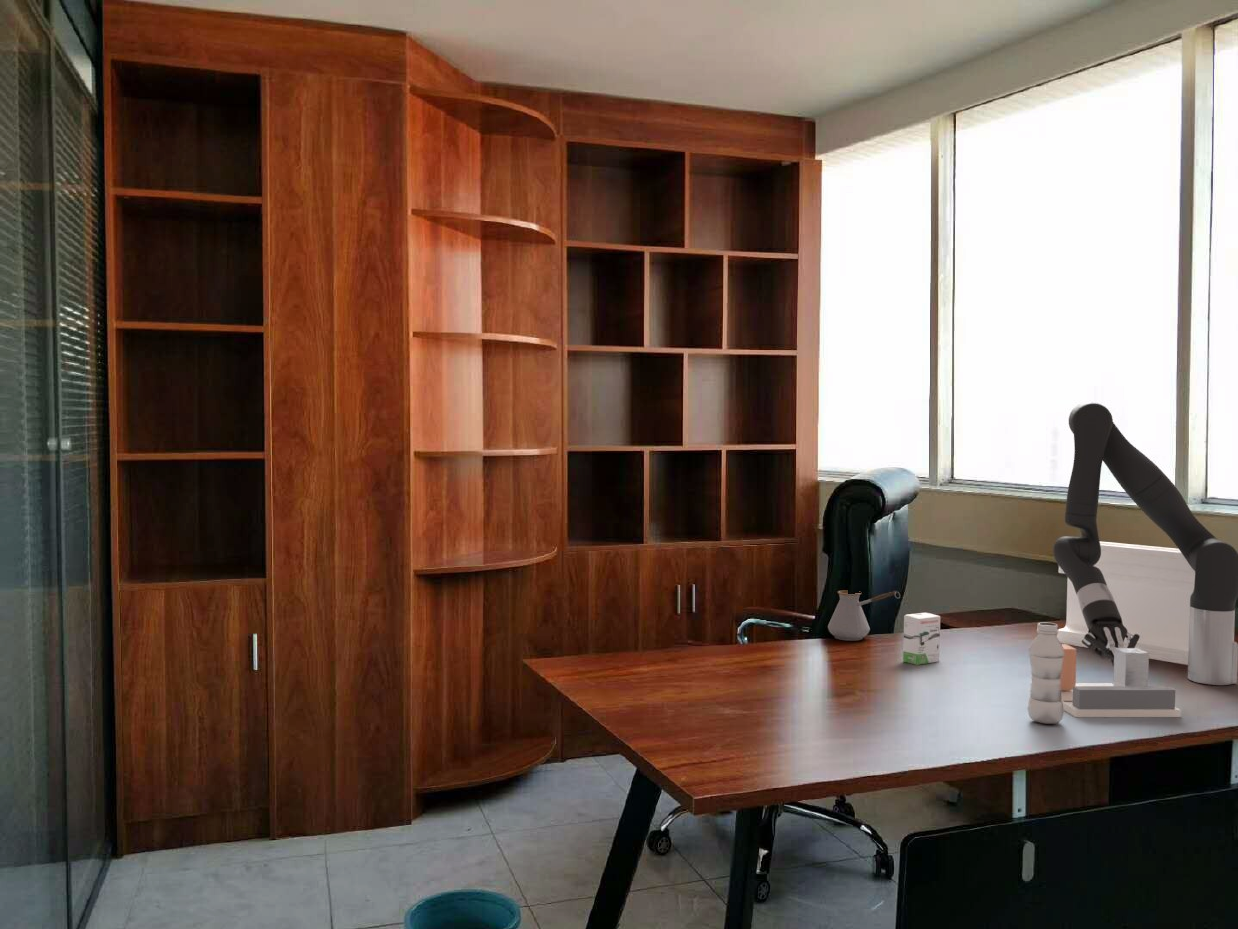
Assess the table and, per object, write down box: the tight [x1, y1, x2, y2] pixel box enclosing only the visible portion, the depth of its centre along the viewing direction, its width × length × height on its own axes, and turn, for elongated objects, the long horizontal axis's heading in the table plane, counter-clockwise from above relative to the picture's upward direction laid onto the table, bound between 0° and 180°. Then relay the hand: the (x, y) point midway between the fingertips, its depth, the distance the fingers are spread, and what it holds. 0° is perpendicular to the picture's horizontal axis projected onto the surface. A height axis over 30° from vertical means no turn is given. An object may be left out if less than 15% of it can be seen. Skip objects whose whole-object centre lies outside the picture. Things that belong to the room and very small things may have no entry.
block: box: [1056, 541, 1195, 666], centre depth 280 cm, size 35×8×28 cm, turn 41°
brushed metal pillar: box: [1113, 648, 1150, 686], centre depth 231 cm, size 5×5×9 cm
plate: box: [1030, 682, 1182, 718], centre depth 229 cm, size 22×22×6 cm
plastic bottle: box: [1027, 621, 1065, 725], centre depth 213 cm, size 6×7×20 cm
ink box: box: [902, 612, 941, 666], centre depth 267 cm, size 9×5×12 cm, turn 123°
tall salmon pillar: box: [1060, 643, 1077, 690], centre depth 234 cm, size 5×5×9 cm
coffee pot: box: [827, 589, 901, 642], centre depth 291 cm, size 21×12×15 cm, turn 44°
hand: (1123, 672), depth 234 cm, fingers closed
